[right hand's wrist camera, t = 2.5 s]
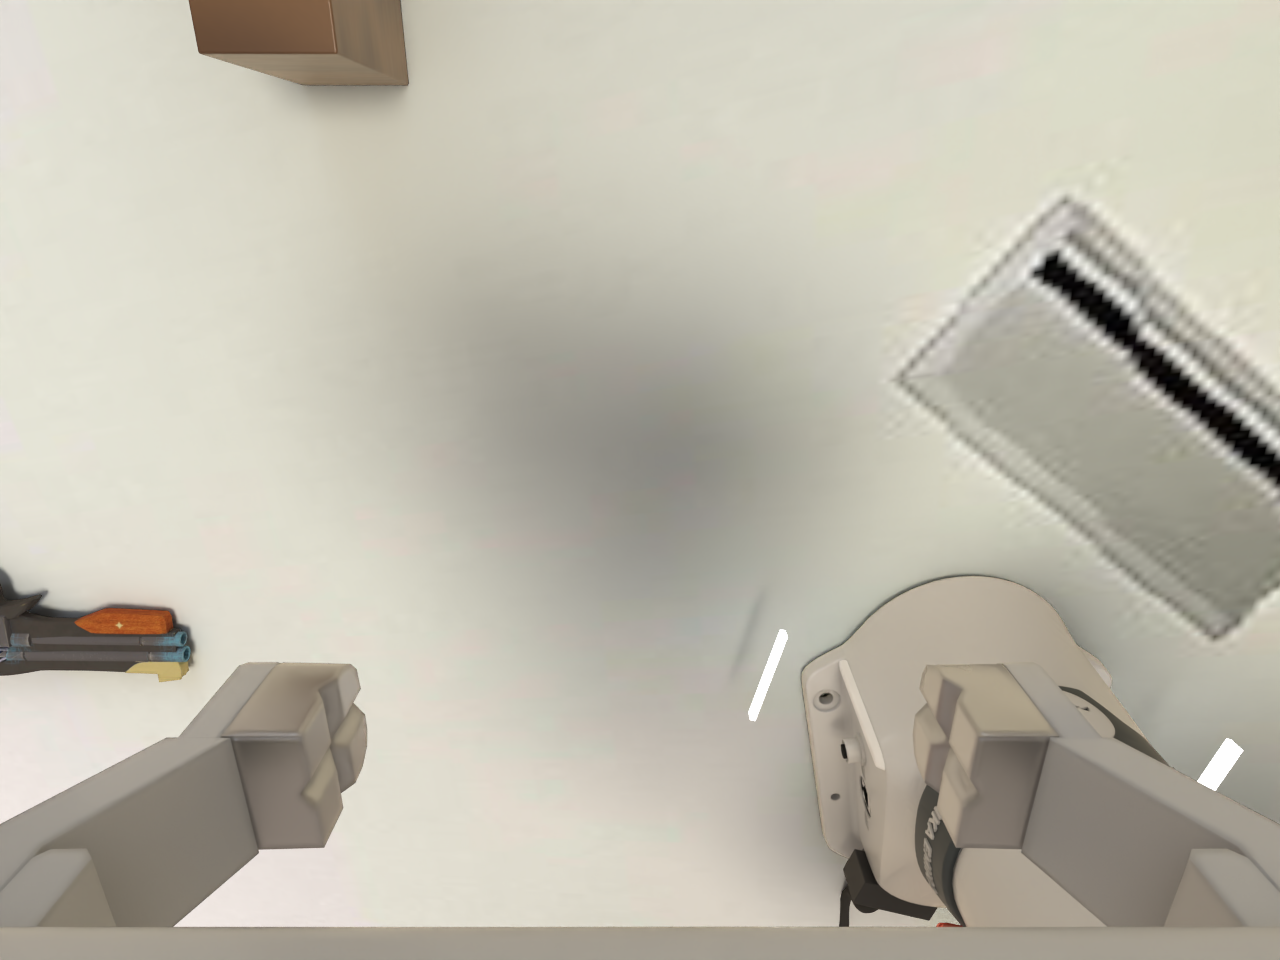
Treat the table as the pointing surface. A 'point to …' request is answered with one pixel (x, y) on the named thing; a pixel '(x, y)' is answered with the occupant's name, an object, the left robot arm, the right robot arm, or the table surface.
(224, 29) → the bar
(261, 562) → the table surface
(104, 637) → the toy gun
